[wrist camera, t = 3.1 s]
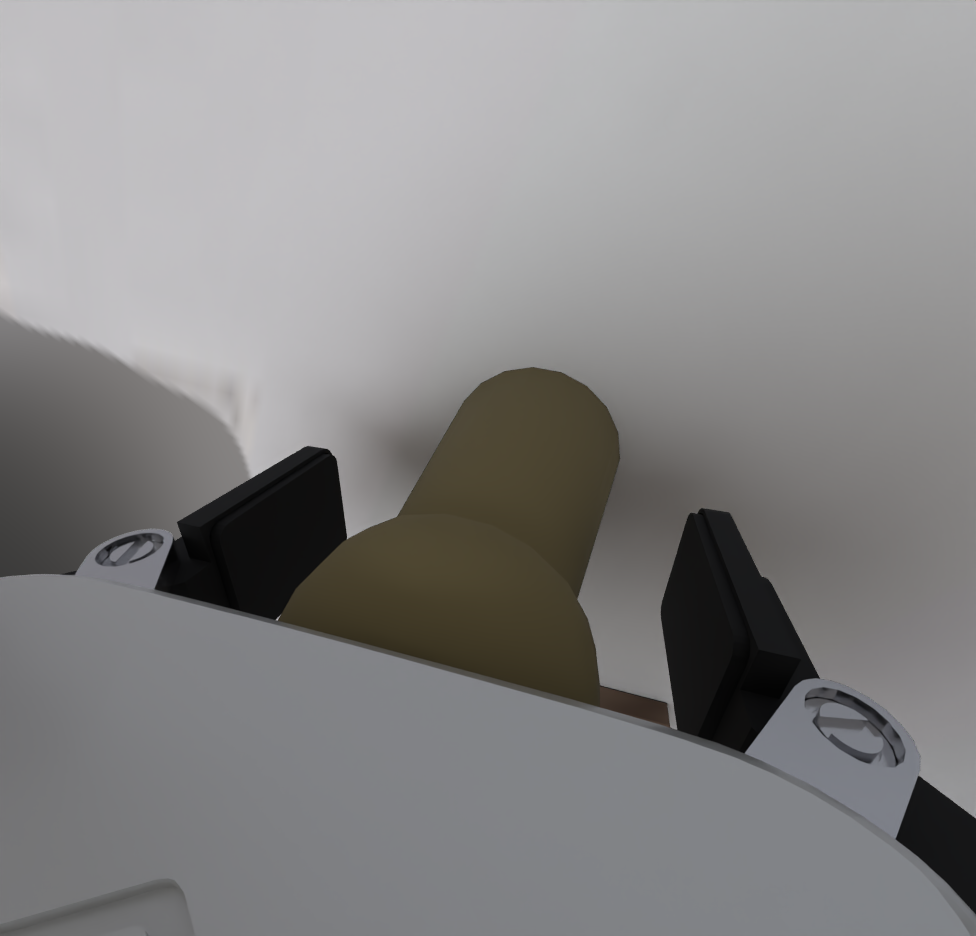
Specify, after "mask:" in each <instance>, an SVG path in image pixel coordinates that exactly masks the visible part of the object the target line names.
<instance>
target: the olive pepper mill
mask: <svg viewBox="0 0 976 936" xmlns="http://www.w3.org/2000/svg"><path fill="white" fill-rule="evenodd" d="M619 460H620V454H619V440H618V431H617V429H616V427H615V425H614V422H613V420H612V418H611V416H610V413H609V411H608V409H607V407H606V406H605V405H604V404H603V403H602V402H601V401H600V400H599V399H598V398H597V396H596V395H595V394H594V393H593V392H592V391H591V390H590V389H589V388H588V387H587V386H585V385H583V384H582V383H580V382H578V381H576V380H574V379H572V378H571V377H569V376H567V375H565V374H563V373H561V372H556V371H550V370H545V369H539V368H534V367H532V368H524V369H517V370H510V371H504V372H502V373H500V374H498V375H497V376H495V377H493V378H491V379H489V380H487V381H485V382H483V383H481V384H480V385H479V386H478V387H477V388H476V389H475V390H474V391H473V392H472V393H471V394H470V396H469V397H468V398H467V399H466V400H465V401H464V402H463V404H462V406H461V407H460V409H459V411H458V413H457V414H456V416H455V418H454V419H453V421H452V423H451V425H450V426H449V428H448V430H447V432H446V433H445V435H444V437H443V438H442V440H441V442H440V444H439V445H438V447H437V449H436V451H435V452H434V454H433V456H432V457H431V459H430V461H429V463H428V464H427V466H426V468H425V470H424V471H423V473H422V475H421V476H420V478H419V480H418V482H417V483H416V485H415V487H414V489H413V490H412V492H411V494H410V495H409V497H408V499H407V501H406V502H405V504H404V506H403V508H402V509H401V511H400V513H399V514H398V516H397V517H396V518H393V519H391V520H388V521H385V522H383V523H380V524H378V525H375V526H372V527H370V528H368V529H366V530H364V531H362V532H360V533H358V534H356V535H354V536H352V537H351V538H349V539H347V540H345V541H343V542H342V543H341V544H340V545H339V546H338V547H337V548H336V549H335V550H334V551H333V552H332V553H331V554H330V555H329V556H328V557H327V558H326V559H325V560H324V561H323V562H322V563H321V564H320V565H319V566H318V567H317V568H316V569H315V570H314V571H313V572H312V573H311V574H310V575H309V576H308V577H307V578H306V579H305V580H304V581H303V582H302V583H301V584H300V585H299V586H298V587H297V588H296V589H295V591H294V593H293V595H292V596H291V598H290V600H289V602H288V603H287V605H286V607H285V609H284V610H283V612H282V614H281V616H280V617H279V619H278V621H280V622H284V623H288V624H292V625H296V626H300V627H304V628H307V629H311V630H315V631H319V632H323V633H326V634H330V635H334V636H338V637H342V638H345V639H349V640H353V641H357V642H361V643H364V644H368V645H372V646H376V647H379V648H383V649H387V650H391V651H394V652H398V653H402V654H406V655H410V656H413V657H417V658H421V659H425V660H428V661H432V662H436V663H440V664H443V665H447V666H451V667H454V668H458V669H462V670H465V671H469V672H473V673H477V674H480V675H484V676H488V677H491V678H495V679H499V680H502V681H506V682H510V683H513V684H517V685H521V686H524V687H528V688H532V689H536V690H539V691H543V692H547V693H550V694H554V695H558V696H561V697H565V698H569V699H572V700H576V701H579V702H583V703H586V704H590V705H593V706H597V707H600V683H599V674H598V666H597V657H596V648H595V644H594V641H593V637H592V633H591V630H590V626H589V622H588V619H587V617H586V615H585V613H584V611H583V609H582V608H581V606H580V604H579V602H578V600H577V598H578V595H579V592H580V588H581V585H582V582H583V579H584V575H585V572H586V569H587V565H588V562H589V559H590V556H591V552H592V549H593V546H594V542H595V539H596V536H597V533H598V529H599V526H600V523H601V520H602V516H603V513H604V510H605V506H606V503H607V500H608V497H609V493H610V490H611V487H612V483H613V480H614V477H615V473H616V470H617V467H618V463H619Z"/></svg>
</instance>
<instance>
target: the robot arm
mask: <svg viewBox="0 0 976 936" xmlns="http://www.w3.org/2000/svg"><path fill="white" fill-rule="evenodd" d="M177 523H178V526H179V529H180V532H181V535H182V537H180V538H179V539H177V540H176V541H175V540H174V538H173V536H172V534H171V533H170V532H168V531H165V530H163V529H145V530H138V531H134V532H130V533H126V534H123V535H120V536H118V537H115V538H112V539H110V540H108V541H106V542H104V543H102V544H101V545H99V546H98V547H96V548H95V549H93V550H92V551H91V552H90V553H89V555H88V556H87V557H86V558H85V560H84V561H83V563H82V565H81V566H80V568H79V569H78V571H74V572H69V573H65V574H60V575H51V574H36V575H23V576H22V575H21V576H9V577H0V936H976V818H974V817H973V816H972V815H970V814H969V813H968V812H966V811H965V810H964V809H962V808H961V807H960V806H958V805H957V804H956V803H954V802H953V801H952V800H950V799H949V798H948V797H946V796H945V795H944V794H942V793H941V792H940V791H938V790H937V789H936V788H934V787H933V786H932V785H930V784H929V783H927V782H926V781H925V780H923V779H922V778H921V777H919V776H918V775H919V772H920V758H921V756H920V754H919V752H918V749H917V747H916V745H915V742H914V740H913V739H912V738H911V736H910V735H909V734H908V732H907V731H906V730H905V728H904V727H903V726H902V725H901V724H900V723H899V722H898V721H897V720H896V719H895V718H894V717H893V716H892V715H891V714H890V713H889V712H888V711H887V710H886V709H884V708H883V707H881V706H880V705H879V704H877V703H876V702H874V701H873V700H872V699H870V698H869V697H867V696H865V695H863V694H862V693H860V692H858V691H856V690H854V689H852V688H850V687H848V686H845V685H842V684H840V683H837V682H834V681H831V680H824V679H820V678H819V676H818V674H817V672H816V670H815V668H814V666H813V664H812V662H811V660H810V658H809V656H808V654H807V652H806V650H805V648H804V646H803V644H802V642H801V640H800V639H799V637H798V635H797V633H796V631H795V629H794V627H793V625H792V623H791V621H790V619H789V617H788V615H787V613H786V611H785V609H784V607H783V605H782V603H781V601H780V599H779V597H778V596H777V594H776V592H775V590H774V588H773V586H772V584H771V583H770V581H769V580H768V579H766V578H764V577H761V576H760V573H759V571H758V569H757V567H756V565H755V563H754V561H753V559H752V557H751V555H750V553H749V551H748V549H747V547H746V545H745V543H744V541H743V539H742V537H741V535H740V533H739V531H738V529H737V526H736V524H735V522H734V520H733V518H732V516H731V515H730V513H728V512H722V511H716V510H709V509H703V508H701V509H700V510H699V512H698V513H697V514H695V513H690V514H689V516H688V518H687V521H686V524H685V528H684V531H683V534H682V538H681V541H680V544H679V548H678V551H677V554H676V558H675V561H674V564H673V567H672V571H671V574H670V577H669V581H668V584H667V587H666V591H665V594H664V597H663V601H662V605H661V621H662V627H663V634H664V641H665V648H666V655H667V662H668V668H669V675H670V682H671V689H672V696H673V703H674V709H675V716H676V723H677V730H675V729H672V728H669V727H666V726H663V725H659V724H656V723H652V722H649V721H646V720H642V719H639V718H635V717H632V716H628V715H625V714H621V713H618V712H614V711H611V710H607V709H604V708H600V707H597V706H593V705H590V704H586V703H583V702H579V701H576V700H572V699H569V698H565V697H561V696H558V695H554V694H550V693H547V692H543V691H539V690H536V689H532V688H528V687H524V686H521V685H517V684H513V683H510V682H506V681H502V680H499V679H495V678H491V677H488V676H484V675H480V674H477V673H473V672H469V671H465V670H462V669H458V668H454V667H451V666H447V665H443V664H440V663H436V662H432V661H428V660H425V659H421V658H417V657H413V656H410V655H406V654H402V653H398V652H394V651H391V650H387V649H383V648H379V647H376V646H372V645H368V644H364V643H361V642H357V641H353V640H349V639H345V638H342V637H338V636H334V635H330V634H326V633H323V632H319V631H315V630H311V629H307V628H304V627H300V626H296V625H292V624H288V623H284V622H280V621H277V620H276V619H277V618H278V617H279V616H280V615H281V614H282V612H283V610H284V609H285V607H286V605H287V603H288V602H289V600H290V598H291V596H292V595H293V593H294V591H295V589H296V588H297V587H298V586H299V585H300V584H301V583H302V582H303V581H304V580H305V579H306V578H307V577H308V576H309V575H310V574H311V573H312V572H313V571H314V570H315V569H316V568H317V567H318V566H319V565H320V564H321V563H322V562H323V561H324V560H325V559H326V558H327V557H328V556H329V555H330V554H331V553H332V552H333V551H334V550H335V549H336V548H337V547H338V546H339V545H340V544H341V543H342V542H343V541H345V540H347V533H346V526H345V518H344V511H343V503H342V496H341V488H340V481H339V473H338V466H337V460H336V458H335V456H333V455H332V453H331V452H330V451H329V450H328V449H323V448H317V447H310V446H307V447H304V448H302V449H301V450H299V451H297V452H296V453H294V454H292V455H291V456H289V457H287V458H285V459H284V460H282V461H280V462H279V463H277V464H275V465H273V466H272V467H270V468H268V469H267V470H265V471H263V472H262V473H260V474H258V475H256V476H255V477H253V478H251V479H250V480H248V481H246V482H245V483H243V484H241V485H240V486H238V487H236V488H234V489H233V490H231V491H229V492H228V493H226V494H224V495H222V496H221V497H219V498H218V499H216V500H214V501H212V502H211V503H209V504H207V505H205V506H204V507H202V508H200V509H199V510H197V511H195V512H194V513H192V514H190V515H188V516H187V517H185V518H183V519H182V520H180V521H178V522H177Z"/></svg>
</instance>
